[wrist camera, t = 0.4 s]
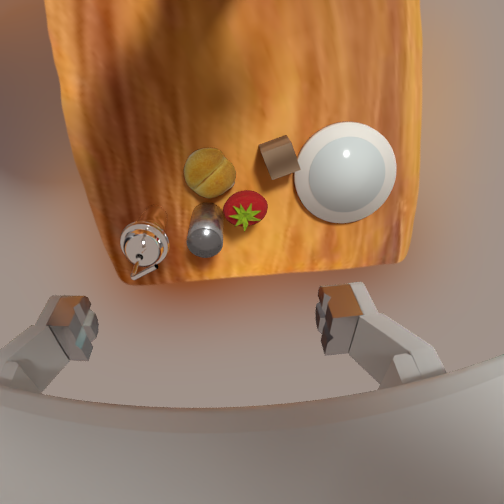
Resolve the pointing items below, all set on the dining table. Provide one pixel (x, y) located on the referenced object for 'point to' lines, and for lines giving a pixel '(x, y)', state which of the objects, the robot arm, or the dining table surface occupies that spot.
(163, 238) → the cup with straw
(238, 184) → the dining table surface
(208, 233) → the drinking glass
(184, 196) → the dining table surface
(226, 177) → the bread roll
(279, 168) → the walnut block
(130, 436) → the robot arm
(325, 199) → the plate
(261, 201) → the strawberry
